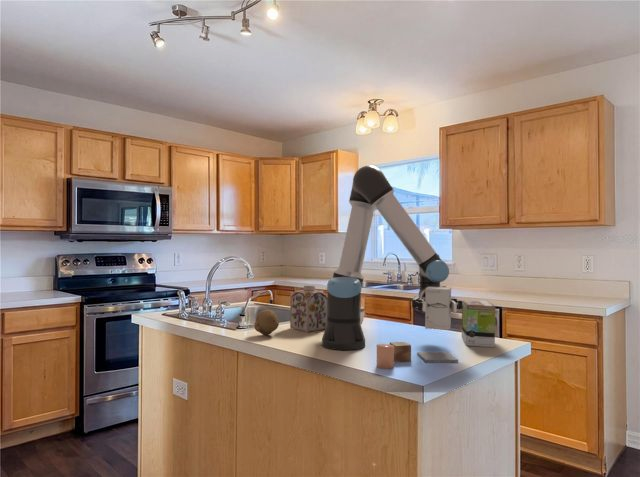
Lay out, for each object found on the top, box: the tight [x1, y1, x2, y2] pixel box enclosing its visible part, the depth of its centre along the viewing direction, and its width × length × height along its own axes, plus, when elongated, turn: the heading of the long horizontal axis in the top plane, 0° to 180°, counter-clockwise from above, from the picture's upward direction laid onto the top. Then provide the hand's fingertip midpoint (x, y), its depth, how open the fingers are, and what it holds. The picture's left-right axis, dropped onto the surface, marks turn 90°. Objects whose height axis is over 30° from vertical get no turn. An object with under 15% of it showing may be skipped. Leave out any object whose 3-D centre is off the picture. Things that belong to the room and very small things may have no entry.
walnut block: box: [389, 341, 412, 363], centre depth 137 cm, size 5×5×5 cm
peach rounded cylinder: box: [376, 343, 395, 370], centre depth 129 cm, size 5×5×6 cm
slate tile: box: [416, 351, 459, 364], centre depth 139 cm, size 10×10×1 cm
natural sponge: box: [254, 309, 280, 336], centre depth 171 cm, size 9×9×10 cm
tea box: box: [461, 299, 496, 348], centre depth 164 cm, size 15×10×15 cm, turn 168°
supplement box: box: [424, 286, 452, 331], centre depth 140 cm, size 7×7×13 cm
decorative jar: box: [289, 285, 328, 333], centre depth 187 cm, size 12×12×18 cm
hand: (439, 307), depth 135 cm, fingers closed on supplement box, 8 cm apart
